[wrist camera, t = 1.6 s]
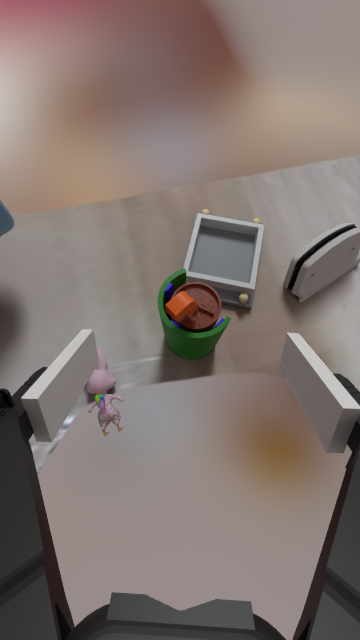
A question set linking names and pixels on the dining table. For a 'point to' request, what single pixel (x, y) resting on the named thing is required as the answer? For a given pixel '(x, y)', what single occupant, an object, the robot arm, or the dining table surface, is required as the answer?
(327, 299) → the dining table surface
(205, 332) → the motor
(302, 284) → the grey arched block
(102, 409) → the rabbit figure
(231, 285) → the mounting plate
